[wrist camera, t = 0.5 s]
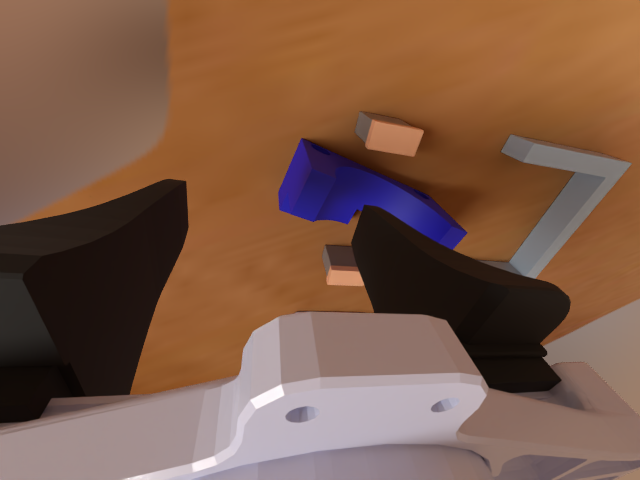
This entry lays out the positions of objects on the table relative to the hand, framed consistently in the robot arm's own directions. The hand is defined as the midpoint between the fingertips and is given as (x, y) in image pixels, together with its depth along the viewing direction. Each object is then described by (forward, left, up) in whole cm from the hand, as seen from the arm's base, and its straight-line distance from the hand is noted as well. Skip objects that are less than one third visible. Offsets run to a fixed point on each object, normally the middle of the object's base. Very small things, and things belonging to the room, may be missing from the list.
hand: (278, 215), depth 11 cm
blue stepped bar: (-3, -7, -10) cm, 13 cm away
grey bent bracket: (-3, -23, -10) cm, 25 cm away
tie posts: (-3, -7, -10) cm, 12 cm away
